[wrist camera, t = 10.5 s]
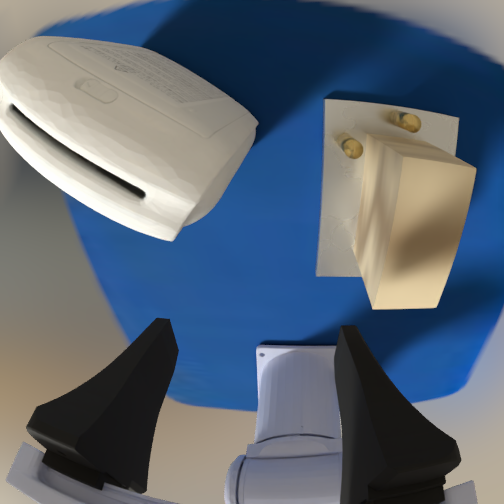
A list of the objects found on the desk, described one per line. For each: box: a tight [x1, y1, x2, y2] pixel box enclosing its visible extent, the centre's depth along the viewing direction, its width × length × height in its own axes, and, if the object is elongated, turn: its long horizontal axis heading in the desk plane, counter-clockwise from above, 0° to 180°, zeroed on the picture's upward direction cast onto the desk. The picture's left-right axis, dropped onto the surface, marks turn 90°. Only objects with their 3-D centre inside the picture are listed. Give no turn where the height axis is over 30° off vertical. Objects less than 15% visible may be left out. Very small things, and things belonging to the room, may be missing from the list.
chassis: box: [315, 99, 459, 277], centre depth 17 cm, size 12×9×3 cm
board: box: [353, 134, 477, 309], centre depth 15 cm, size 8×4×6 cm, turn 2°
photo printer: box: [0, 36, 259, 241], centre depth 12 cm, size 10×4×12 cm, turn 54°
